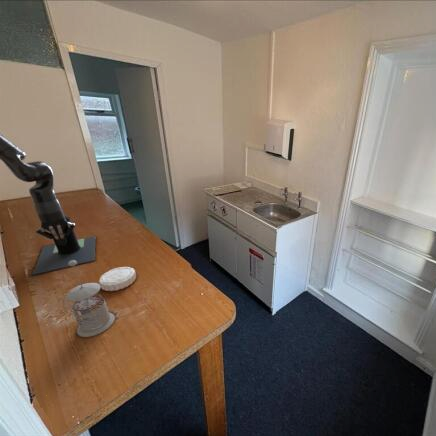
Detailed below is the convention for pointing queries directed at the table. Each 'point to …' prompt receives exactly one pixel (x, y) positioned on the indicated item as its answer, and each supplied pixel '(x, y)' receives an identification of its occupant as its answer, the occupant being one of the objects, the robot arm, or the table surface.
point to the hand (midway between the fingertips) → (63, 244)
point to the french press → (86, 300)
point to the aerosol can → (68, 242)
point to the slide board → (64, 256)
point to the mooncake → (117, 278)
